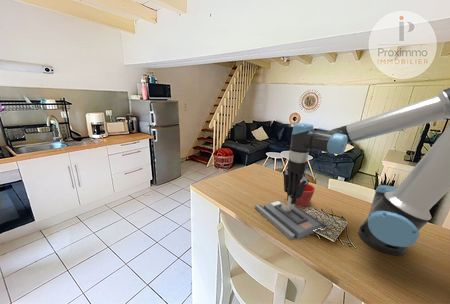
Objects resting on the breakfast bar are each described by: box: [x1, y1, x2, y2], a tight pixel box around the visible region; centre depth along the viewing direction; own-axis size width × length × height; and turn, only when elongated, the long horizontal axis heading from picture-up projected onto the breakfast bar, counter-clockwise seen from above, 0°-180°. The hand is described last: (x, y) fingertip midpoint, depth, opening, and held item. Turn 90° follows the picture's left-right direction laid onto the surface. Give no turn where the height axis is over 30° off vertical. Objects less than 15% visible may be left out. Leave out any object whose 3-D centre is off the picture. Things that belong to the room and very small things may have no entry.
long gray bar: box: [284, 198, 327, 229], centre depth 90 cm, size 24×3×2 cm, turn 27°
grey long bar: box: [254, 204, 297, 240], centre depth 84 cm, size 24×3×2 cm, turn 28°
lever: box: [281, 199, 291, 212], centre depth 87 cm, size 3×3×5 cm
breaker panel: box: [263, 198, 321, 240], centre depth 86 cm, size 22×13×4 cm, turn 28°
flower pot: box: [294, 182, 315, 207], centre depth 99 cm, size 11×11×10 cm
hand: (289, 208), depth 85 cm, fingers closed
